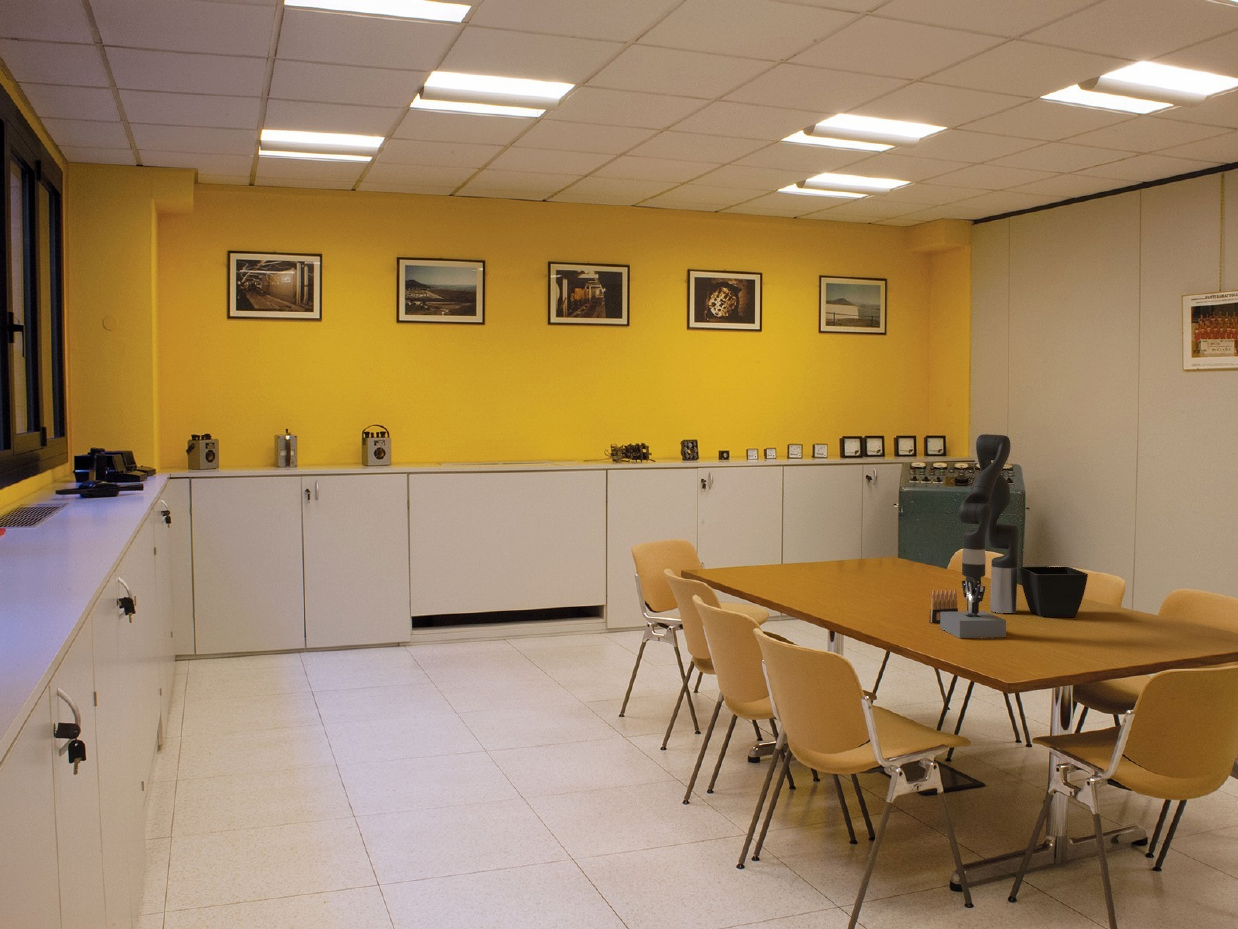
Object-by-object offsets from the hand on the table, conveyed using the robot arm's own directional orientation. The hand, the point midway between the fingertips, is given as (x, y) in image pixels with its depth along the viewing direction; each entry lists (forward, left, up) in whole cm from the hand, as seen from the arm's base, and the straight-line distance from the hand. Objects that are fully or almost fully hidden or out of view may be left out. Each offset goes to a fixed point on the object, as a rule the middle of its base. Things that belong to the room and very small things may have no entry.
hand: (972, 612), depth 350 cm
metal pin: (0, 0, -3) cm, 3 cm away
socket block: (0, 0, -7) cm, 7 cm away
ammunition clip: (-19, -2, -8) cm, 21 cm away
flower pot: (-31, +45, -8) cm, 55 cm away
